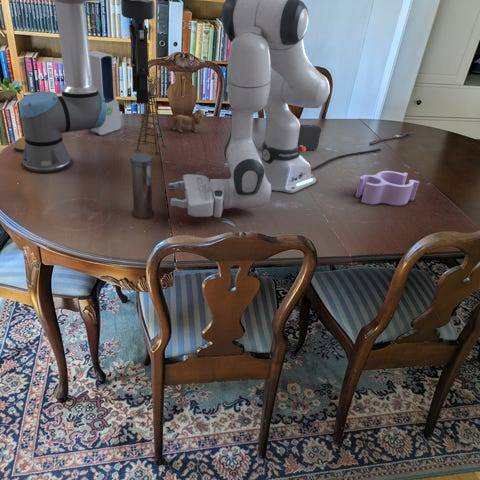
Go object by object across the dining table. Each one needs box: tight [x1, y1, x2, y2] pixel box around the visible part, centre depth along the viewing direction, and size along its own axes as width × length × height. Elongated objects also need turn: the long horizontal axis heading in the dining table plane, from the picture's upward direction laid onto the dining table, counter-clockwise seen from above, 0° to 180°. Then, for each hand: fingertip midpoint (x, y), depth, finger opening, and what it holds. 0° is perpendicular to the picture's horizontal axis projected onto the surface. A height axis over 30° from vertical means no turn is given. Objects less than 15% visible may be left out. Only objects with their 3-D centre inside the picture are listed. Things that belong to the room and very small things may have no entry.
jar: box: [131, 164, 153, 219], centre depth 133 cm, size 5×5×18 cm
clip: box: [355, 170, 420, 206], centre depth 160 cm, size 20×12×7 cm, turn 109°
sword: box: [370, 133, 413, 145], centre depth 213 cm, size 31×3×1 cm, turn 126°
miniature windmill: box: [136, 67, 166, 154], centre depth 171 cm, size 9×8×30 cm
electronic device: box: [88, 50, 122, 136], centre depth 182 cm, size 12×8×30 cm, turn 148°
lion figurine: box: [169, 108, 205, 133], centre depth 196 cm, size 15×5×9 cm, turn 110°
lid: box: [130, 152, 153, 167], centre depth 129 cm, size 6×6×2 cm
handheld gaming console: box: [297, 124, 322, 151], centre depth 189 cm, size 23×3×10 cm, turn 108°
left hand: (140, 96), depth 119 cm, fingers open, 9 cm apart
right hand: (169, 194), depth 136 cm, fingers open, 8 cm apart
